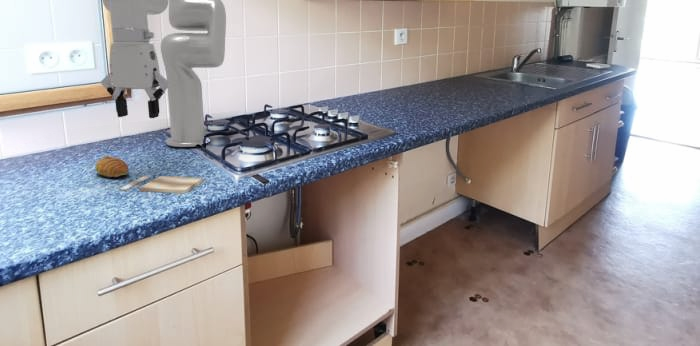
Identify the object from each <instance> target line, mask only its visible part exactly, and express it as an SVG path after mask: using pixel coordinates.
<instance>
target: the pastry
mask: <svg viewBox="0 0 700 346" xmlns="http://www.w3.org/2000/svg"><path fill="white" fill-rule="evenodd" d="M94 167H95V171H96V172H97V173H98V175H101V176H104V177H107V178H112V177H114V178H117V177H121V176H124V175H126V176H127V175H128V174H129V171H130V170H129V166H128V164H127V163H126V162H125V161H124V160H123V159H121V158H119V157H118V158H117V157H113V156H105V157H103V158H99V159H98V161H97V162H96V163H95V166H94Z"/></svg>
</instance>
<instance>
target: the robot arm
mask: <svg viewBox="0 0 700 346" xmlns="http://www.w3.org/2000/svg"><path fill="white" fill-rule="evenodd" d="M102 4H103V6H104V8H105V9H106V10H107V11H108V12H109V14H110V23H111V24H110V26H111V33H112V34H111V35H112V42H113V43H110V48H109V73H108V74H107V75H106V76H105V77H104V78H103V79H102V80H101V81H100V83H101V85H102V86H103V87H104V88H105V90H106V91H107V92H108V94H110V96H111V97H112V99H113V100H115V101H114V102H115V111H116V113H117V117H118V118H122V117H126V116H128V115H129V112H128V102H127V98H126V97H125V94H126V92H127V90H144V91H145V92H146V94H147V96H148V98H149V100H147V108H148V109H147V110H148V118H150V119H155V118H159V115H160V103H159V102H160V101H159V100H160V99H161V98H162V96H163V95H164V94H165V93H166V91H167V98H168V99H167V100H168V111H169V124H170V126H169V127H170V135H171V136H170V137H169V138H167V139H165V142H166V145H167V146H171V147H176V148H183V147H184V148H187V147H188V148H190V147H191V148H193V147H197V146H196V145H197V144H203V138H204V136H206V131H207V130H208V126H207V125H206V124H205V120H204V119H205V117H204V116H205V115H204V102H203V100H204V99H203V87H202V82H201V79H200V78H199V76H198V74H197V73H196V72H195V71H194V68H196V69H197V68H199V69H201V68H202V69H205V68H208V69H211V68H212V69H214V68H219V67H221V66H222V65H223V63H224V61H225V55H226V54H225V53H226V30H227V29H226V28H227V15H226V8H225V5H224V3H223V1H222V0H102ZM167 8H168V21H169V24H170V26H171V27H172V28H173V29H175V30H178V31H188V32H174V33H173V32H172V33H169V34H167V35H165V36H164V37H163V38H162V40H161V42H160V54H161V58H162V62H163V66H164V70H165V76H166V78H165V77H164V76H163V75H162V74H161V72H160V71H161V70H160V66H159V60H158V56H157V52H156V49H155V44H154V43H150V42H151V39H154V38H155V34H154V32H153V31H150V29H149V20H148V16H149V15H153V16H154V15H160V14H162V13H164V12H165V11H166V10H167ZM189 31H191V32H189ZM194 32H198V33H194ZM201 32H204V33H201ZM205 32H207V33H205ZM206 141H207V142H208V140H206Z"/></svg>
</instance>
